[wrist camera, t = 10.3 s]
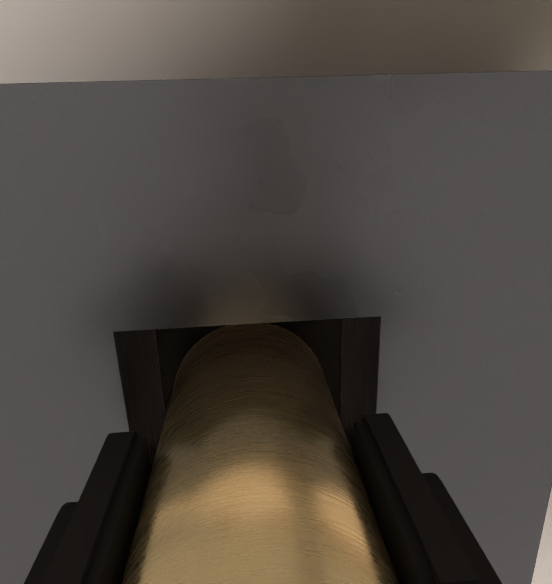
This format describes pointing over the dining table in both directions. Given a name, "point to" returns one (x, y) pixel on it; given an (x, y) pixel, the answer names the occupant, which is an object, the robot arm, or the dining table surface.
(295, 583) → the brass peg
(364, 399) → the socket block
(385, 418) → the robot arm
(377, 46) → the dining table surface
